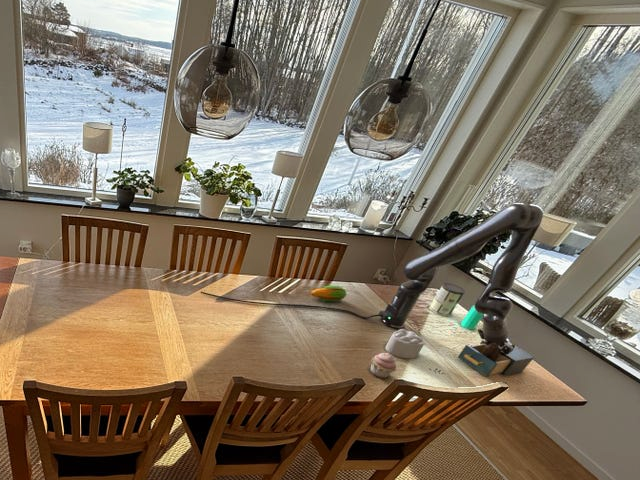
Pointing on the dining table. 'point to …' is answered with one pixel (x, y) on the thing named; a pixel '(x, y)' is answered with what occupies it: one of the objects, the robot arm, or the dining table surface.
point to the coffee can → (447, 299)
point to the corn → (329, 293)
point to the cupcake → (383, 365)
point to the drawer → (483, 360)
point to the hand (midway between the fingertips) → (496, 349)
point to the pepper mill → (492, 351)
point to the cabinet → (516, 361)
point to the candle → (471, 319)
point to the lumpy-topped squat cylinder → (405, 344)
